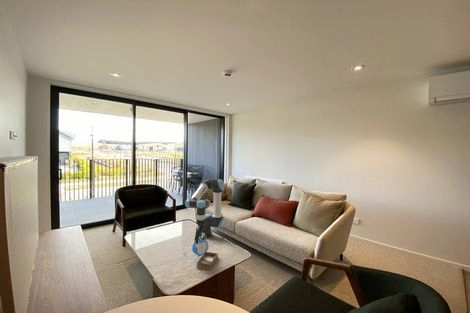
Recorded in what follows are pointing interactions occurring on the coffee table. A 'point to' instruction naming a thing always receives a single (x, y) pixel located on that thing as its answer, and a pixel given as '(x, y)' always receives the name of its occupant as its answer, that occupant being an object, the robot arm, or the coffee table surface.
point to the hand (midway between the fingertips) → (200, 243)
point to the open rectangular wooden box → (207, 260)
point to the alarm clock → (200, 246)
